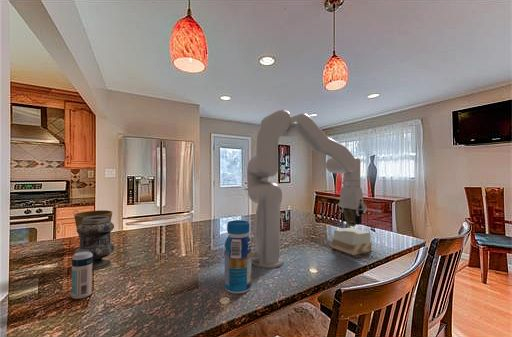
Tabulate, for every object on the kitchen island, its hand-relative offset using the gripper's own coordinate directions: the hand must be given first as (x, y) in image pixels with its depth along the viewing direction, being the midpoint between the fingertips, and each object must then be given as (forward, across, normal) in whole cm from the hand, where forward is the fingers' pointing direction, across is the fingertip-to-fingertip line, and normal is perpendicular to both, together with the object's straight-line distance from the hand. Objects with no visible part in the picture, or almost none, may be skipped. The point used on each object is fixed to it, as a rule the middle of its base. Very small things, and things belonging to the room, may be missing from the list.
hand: (351, 222), depth 113 cm
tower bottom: (+13, 0, 0) cm, 13 cm away
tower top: (+8, 0, 0) cm, 8 cm away
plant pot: (+13, -58, -105) cm, 121 cm away
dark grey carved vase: (+13, -31, -102) cm, 107 cm away
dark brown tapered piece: (+2, 0, 0) cm, 2 cm away
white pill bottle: (+13, -6, -103) cm, 104 cm away
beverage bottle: (+13, +10, -62) cm, 64 cm away
